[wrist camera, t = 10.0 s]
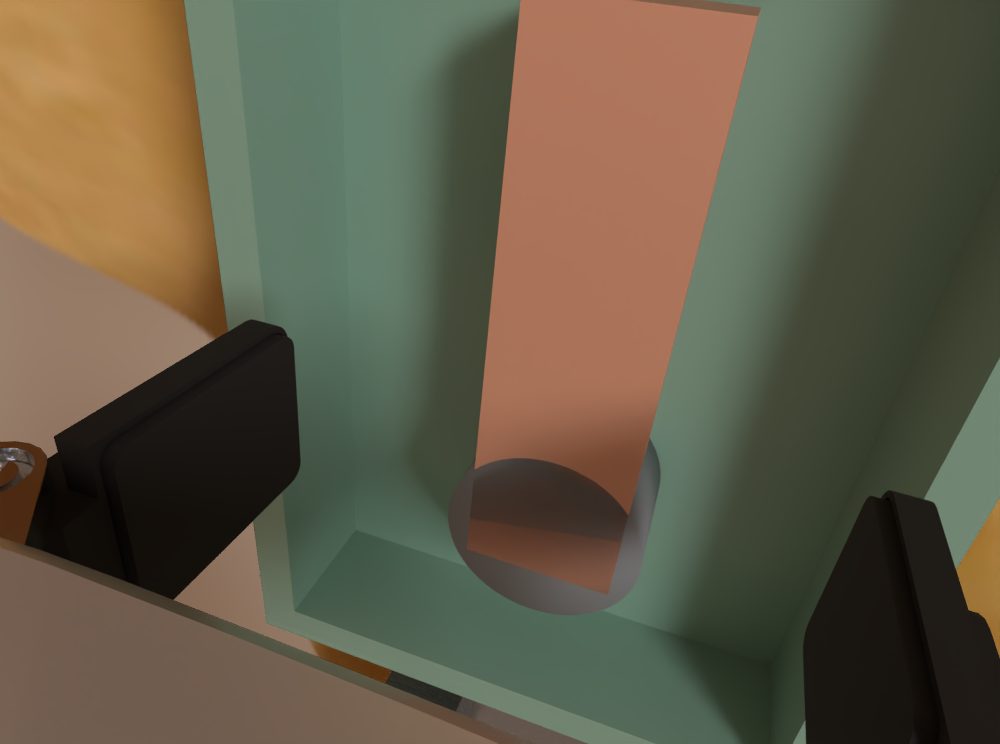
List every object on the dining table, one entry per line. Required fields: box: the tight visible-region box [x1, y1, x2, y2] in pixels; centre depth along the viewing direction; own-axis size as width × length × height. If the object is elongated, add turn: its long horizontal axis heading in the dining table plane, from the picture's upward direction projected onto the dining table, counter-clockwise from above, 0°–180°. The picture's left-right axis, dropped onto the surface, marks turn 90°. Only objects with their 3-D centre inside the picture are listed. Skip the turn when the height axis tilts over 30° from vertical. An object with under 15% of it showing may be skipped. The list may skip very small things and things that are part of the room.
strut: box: [448, 0, 761, 615], centre depth 15 cm, size 13×5×3 cm, turn 175°
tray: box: [184, 0, 1000, 744], centre depth 15 cm, size 21×15×4 cm
